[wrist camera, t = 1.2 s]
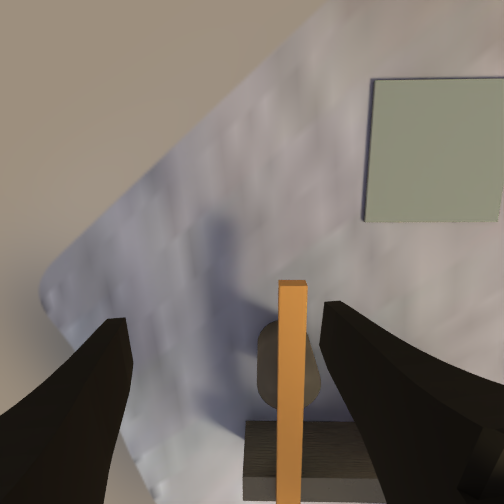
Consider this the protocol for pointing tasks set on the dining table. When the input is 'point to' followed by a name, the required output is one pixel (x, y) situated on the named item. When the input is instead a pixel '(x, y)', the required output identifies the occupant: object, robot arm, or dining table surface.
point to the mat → (436, 151)
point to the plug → (269, 367)
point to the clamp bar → (290, 388)
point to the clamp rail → (312, 464)
